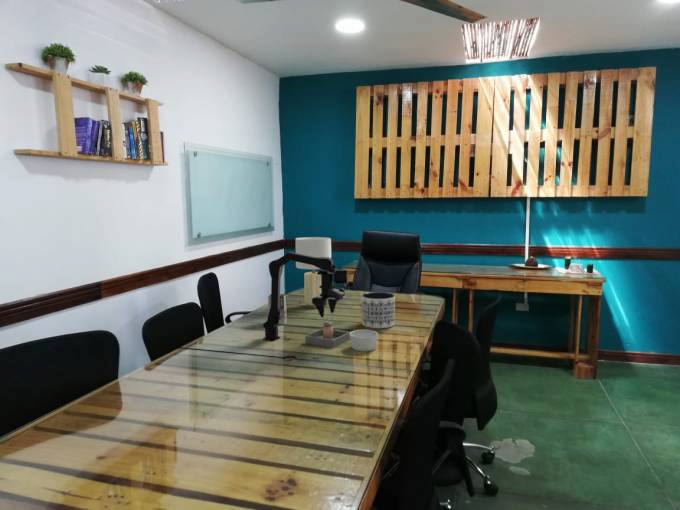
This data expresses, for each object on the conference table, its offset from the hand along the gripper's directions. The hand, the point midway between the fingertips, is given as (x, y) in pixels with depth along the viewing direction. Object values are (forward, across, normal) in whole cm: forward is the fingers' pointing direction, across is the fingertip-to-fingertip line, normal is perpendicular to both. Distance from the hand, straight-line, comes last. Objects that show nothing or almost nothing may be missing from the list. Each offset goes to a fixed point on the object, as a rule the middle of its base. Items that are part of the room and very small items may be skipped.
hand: (327, 315), depth 228 cm
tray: (+13, 0, 0) cm, 13 cm away
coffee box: (+13, +16, +43) cm, 47 cm away
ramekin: (+13, -1, -20) cm, 24 cm away
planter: (+13, +40, -8) cm, 43 cm away
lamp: (+13, +61, +48) cm, 78 cm away
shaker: (+12, 0, 0) cm, 12 cm away
